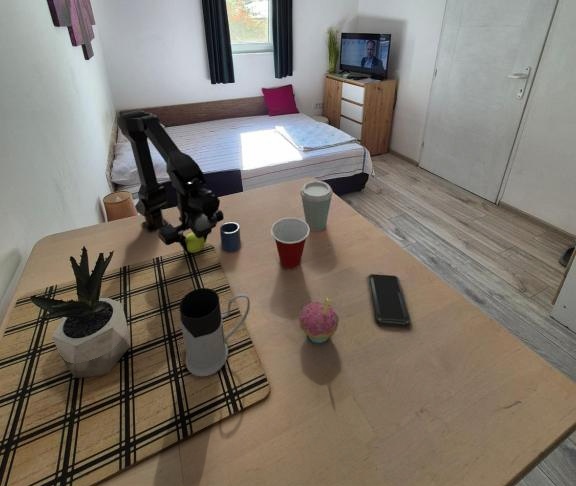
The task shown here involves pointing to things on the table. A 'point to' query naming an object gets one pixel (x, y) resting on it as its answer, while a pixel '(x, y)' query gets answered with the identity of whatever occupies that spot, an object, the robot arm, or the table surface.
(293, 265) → the plastic cup
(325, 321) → the cupcake
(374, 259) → the table surface
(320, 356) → the table surface
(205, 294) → the grey mug
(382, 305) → the phone
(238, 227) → the tumbler
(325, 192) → the disposable coffee cup
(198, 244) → the ball
